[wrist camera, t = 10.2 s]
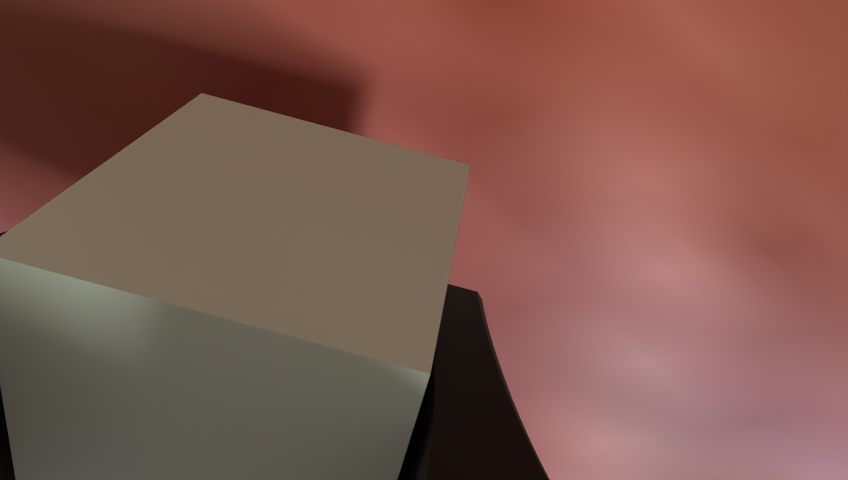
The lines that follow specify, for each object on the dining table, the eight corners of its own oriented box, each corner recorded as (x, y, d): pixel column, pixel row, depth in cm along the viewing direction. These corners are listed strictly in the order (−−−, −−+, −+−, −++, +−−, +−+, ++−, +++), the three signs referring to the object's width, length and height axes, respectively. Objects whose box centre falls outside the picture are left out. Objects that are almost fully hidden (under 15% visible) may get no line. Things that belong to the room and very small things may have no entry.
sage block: (411, 367, 13) (353, 620, 9) (191, 307, 13) (24, 531, 9) (470, 165, 11) (431, 373, 6) (201, 93, 11) (-21, 252, 6)
